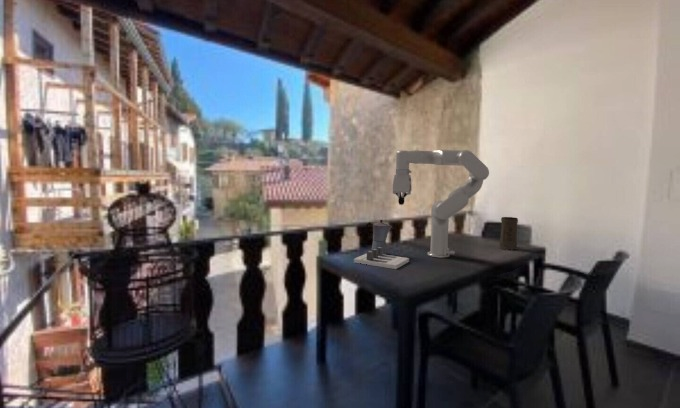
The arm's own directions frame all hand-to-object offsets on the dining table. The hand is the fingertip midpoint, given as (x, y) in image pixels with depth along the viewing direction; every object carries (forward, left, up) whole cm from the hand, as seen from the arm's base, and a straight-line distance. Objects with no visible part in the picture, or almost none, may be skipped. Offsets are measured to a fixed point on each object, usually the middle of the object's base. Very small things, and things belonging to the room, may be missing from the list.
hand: (401, 204), depth 240 cm
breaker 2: (+5, +23, -27) cm, 36 cm away
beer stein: (-50, -56, -29) cm, 81 cm away
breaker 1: (+5, +29, -27) cm, 40 cm away
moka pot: (+11, +6, -29) cm, 32 cm away
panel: (+1, +23, -29) cm, 37 cm away
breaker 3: (+5, +17, -27) cm, 32 cm away
